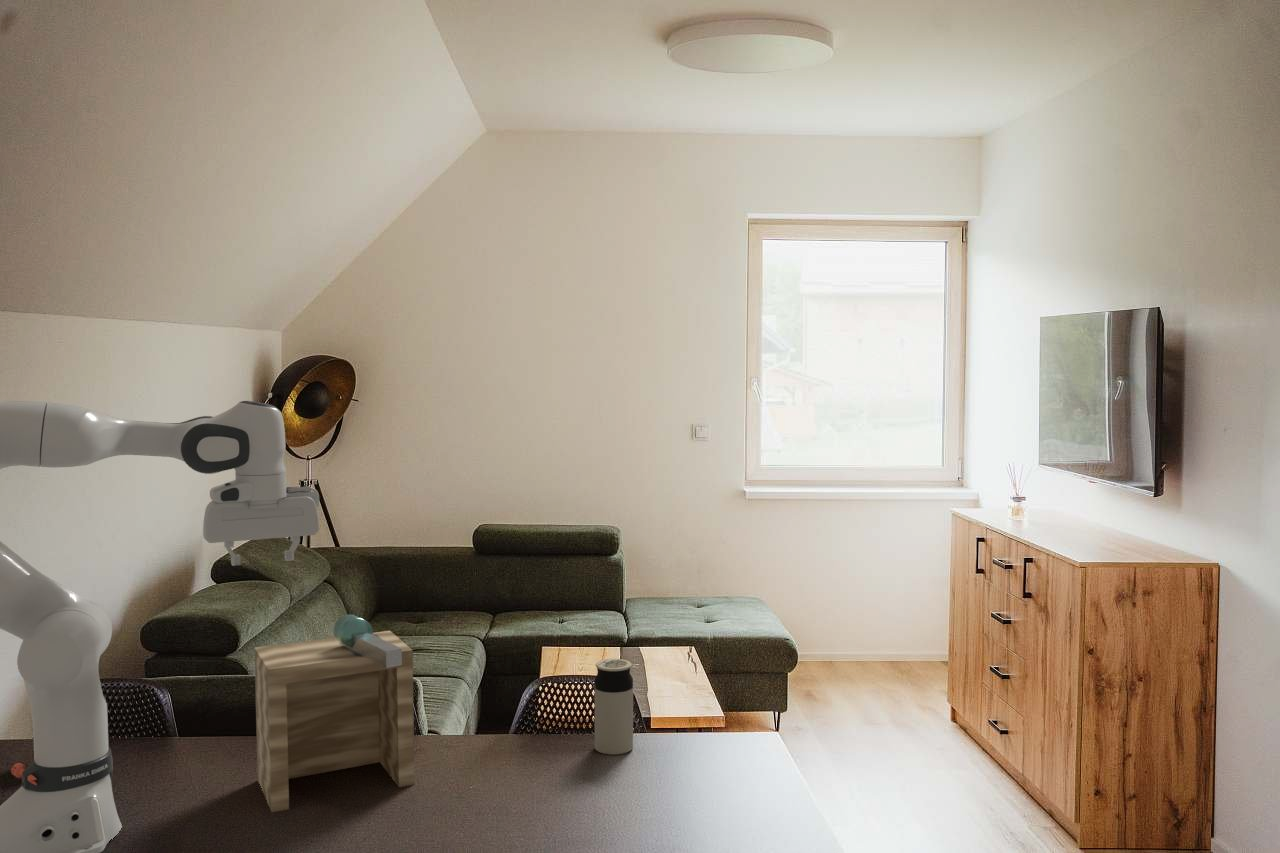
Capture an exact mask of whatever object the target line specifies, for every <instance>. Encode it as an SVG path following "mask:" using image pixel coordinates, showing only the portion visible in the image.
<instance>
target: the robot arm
mask: <svg viewBox="0 0 1280 853" xmlns="http://www.w3.org/2000/svg"><path fill="white" fill-rule="evenodd" d="M286 446H287V445H286V430H285V420H284V416H283V413H282V412H281V410H280V409H279V408H278V407H276V406H275V405H273V404H269V403H265V402H259V401H252V400H241V401H239V402H237V403H236V405H234V406H233V407H231V408H229V409H228V410H226V411H224V412H221V413H219V414H218V415H214V416H210V415H203V416H198V417H194V418H191V419H187V420H185V421H181V422H175V423H174V422H172V423H170V422H156V421H142V420H141V421H139V420H129V419H121V418H118V417H114V416H110V415H108V414H105V413H101V412H98V411H95V410H91V409H88V408H83V407H80V406H76V405H75V406H74V405H70V404H65V403H56V402H50V401H49V402H46V401H32V400H31V401H26V400H25V401H21V400H20V401H16V400H15V401H14V400H13V401H0V470H2V469H4V468H9V467H16V466H18V467H19V466H25V467H26V466H27V467H37V468H40V467H41V468H72V467H73V468H74V467H81V466H88V465H91V464H93V463H94V464H95V463H96V462H98V461H102V460H104V459H107V458H112V457H117V456H147V457H162V458H163V457H164V458H173V459H177V460H180V461H182V462H184V463H185V464H186V465H187V466H188V467H189V468H190V469H192V470H193V471H195V472H197V473H200V474H205V475H212V474H218V473H220V472H224V471H229V470H232V469H234V470H235V473H234V474H235V479H233V480H230V481H228V482H225V483H222V484H219V485H216V486H213V487H212V488H211V489H210V490H209V497H210V500H211V501H210V502H209V503H208V504H207V505H206V507H205V511H204V516H203V525H202V526H203V528H202V537H203V539H204V540H205V541H206V542H207V543H209V544H216V543H224V544H223V545H224V546H223V547H224V548H225V549H226V551H227V552H228V554H229V555H230V564H231V566H232V567H234V566H241V564H242V562H241V558H242V557H241V554H240V553H239V554H235V553H234V551H233V549H232V548H234V547H235V546H234V545H235V542H238V541H239V542H241V541H243V542H244V541H251V540H252V541H254V540H267V539H268V540H269V539H281V538H289V539H290V541H291V542H292V543H291V545H290V547H289V549H288V550H287V549H286V550H284V551H283V552H284V560H285V561H286V562H289V561H290V562H291V561H295V551H296V550H297V548H298V547H299V544H300V542H301V537H305V536H316V535H317V534H318V532H319V530H320V519H319V512H318V507H319V504H320V494H319V492H318V490H317V489H315V488H313V487H311V486H308V485H306V486H305V485H304V486H287V468H286V465H285V461H284V459H285V458H284V457H285V453H286ZM0 629H1V630H2V631H5V632H7V633H9V634H11V635H13V636H15V637H17V638H19V639H21V640H22V642H21V644H20V647H19V650H18V653H17V660H16V662H17V663H16V665H17V669H18V672H19V674H20V676H21V677H22V678H23V682H24V687H25V691H26V694H27V698H28V703H29V707H30V711H31V717H32V718H31V719H32V737H33V760H31V762H30V763H29V765H28V766H25V765H24V764H23V763H20V762H18V763H15V764H14V765H13V766H12V767H11V770H10V772H11V774H12V775H13V776H14V777H16V778H18V779H21V786H20V787H19V788H18V789H17V790H16V791H15V792H14V793H13V794H12V795H11V796H9V798H7V800H5V801H4V802H3V803H2V804H1V805H0V853H102V852H103V851H104V850H105V848H106V846H107V844H109V841H110V840H111V839H112V840H114V839H115V838H116V837H117V836H118V835H119V834H120V833H119V831H120V830H121V828H122V829H123V825H122V823H121V820H120V817H119V815H118V812H117V807H116V803H115V800H114V799H115V798H114V793H113V786H112V780H113V770H114V762H113V756H112V755H113V754H112V749H111V747H110V746H109V726H108V725H109V724H108V722H109V721H108V720H109V719H108V716H109V715H108V703H107V701H105V700H104V697H105V696H104V694H103V689H102V685H101V684H102V683H101V680H100V679H101V678H100V673H99V663H100V658H101V655H103V653H104V652H105V651H106V650H107V648H108V647H109V645H110V643H111V640H112V634H113V622H112V618H111V615H110V614H109V612H108V610H107V609H106V608H105V607H104V606H102V605H101V604H99V603H97V602H96V601H91V600H88V599H86V598H84V597H83V596H82V595H80V594H78V593H76V592H74V591H73V590H71V589H69V588H68V587H66V586H65V585H62V584H60V583H58V582H57V581H56V580H53V579H51V578H50V577H48V576H46V574H43V573H41V572H40V571H38V570H37V569H36V568H35V567H33V566H32V565H31V564H30V563H28V562H27V561H26V560H24V559H23V558H22V557H20V556H19V555H18V554H17V553H15V551H13V550H12V549H11V548H10V547H8V546H7V545H6V544H5V543H3V542H2V541H1V540H0ZM103 696H104V697H103ZM121 831H122V830H121ZM118 833H119V834H118ZM117 834H118V835H117ZM116 835H117V836H116ZM115 836H116V837H115ZM114 837H115V838H114ZM113 838H114V839H113ZM112 840H111V841H112ZM111 841H110V842H111Z"/></svg>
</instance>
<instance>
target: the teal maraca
mask: <svg viewBox="0 0 1280 853" xmlns="http://www.w3.org/2000/svg"><path fill="white" fill-rule="evenodd" d="M373 633H374V629H373V625H371V623H370V622H369V621H367V620H366V619H363V618H361V617H359V616H356V615H355V614H344V615H342V616H341V617H340V618H339V619H338V620H337V621H336V622H335V624H334V628H333V634H334V638H336V639H337V640H338V641H339V642H340V645H342V646H344V647H346V648H348V649H350V650H352V651H354V652H356V653H358V654H360V655H362V656H364V657H366V658H368V659H369V660H371V661H373V662H375V663H377V664H379V665H381V666H383V667H385V668H390V667H395V666H400V665H402V648H400V647H397V646H395V645H393V644H391V643H389V642H387V641H385V640H383V639H380V638H378V637H376V636H374V635H373Z"/></svg>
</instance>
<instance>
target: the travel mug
mask: <svg viewBox="0 0 1280 853" xmlns="http://www.w3.org/2000/svg"><path fill="white" fill-rule="evenodd" d="M595 667H596V670H597V674H596V676H595V677H594V749H595V750H596V751H597V752H599V753H602V754H603V755H610V756H616V755H617V756H618V755H624V754H626V753H628V752H630V751H632V750H633V748H634V678H633V676H632V675H631V668H632V667H633V664H632V662H631V661H629V660H626V659H622V658H606V659H602V660H599V661H597V662H596V663H595Z"/></svg>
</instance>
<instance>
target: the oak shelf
mask: <svg viewBox="0 0 1280 853" xmlns="http://www.w3.org/2000/svg"><path fill="white" fill-rule="evenodd" d="M373 635H374V636H376V637H378V638H380V639H383V640H385V641H387V642H389V643H391V644H393V645H395V646H397V647H400V648H402V665H400V666H395V667H390V668H385V667H383V666H381V665H379V664H377V663H375V662H373V661H371V660H369V659H368V658H366V657H364V656H362V655H360V654H358V653H356V652H354V651H352V650H350V649H348V648H346V647H344V646H342V645H340V642H339V641H338V640H337V639H336V638H335V637H328V638H321V639H312V640H311V639H310V640H306V641H305V640H304V641H296V642H289V643H288V642H287V643H281V644H273V645H265V646H257V647H254V673H255V674H254V676H255V677H254V679H255V680H254V681H255V682H254V683H255V723H256V724H255V726H256V727H255V728H256V763H257V764H256V765H257V782H258V785H259V784H260V785H259V787H260V786H261V787H260V789H261V788H262V789H261V791H263V792H262V793H264V794H263V796H264V795H265V796H264V798H265V800H267V801H266V803H267V805H268V807H270V808H269V809H270V812H271V813H275V812H282V811H286V810H289V809H290V790H289V787H290V784H289V780H290V778H291V779H296V778H301V776H302V777H307V776H311V775H319V774H322V773H323V774H324V773H328V772H329V773H330V772H333V771H339V770H345V769H349V768H350V769H351V768H356V767H361V766H367V765H372V764H377V763H380V764H381V766H382V765H383V766H382V767H383V769H385V771H386V772H387V773H389V774H388V776H390V778H391V777H392V778H391V779H392V780H393V781H395V782H394V783H395V784H396V786H397V787H398V788H402V787H408V786H414V785H415V736H414V735H415V730H414V729H415V728H414V726H415V725H414V662H413V660H414V659H413V656H414V655H413V649H412V648H411V647H410V646H408V645H407V644H406V643H405V642H404V641H403V640H401V638H400V637H398V636H397V635H396V634H394V632H392V631H391V630H384V631H376V632H373Z"/></svg>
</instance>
